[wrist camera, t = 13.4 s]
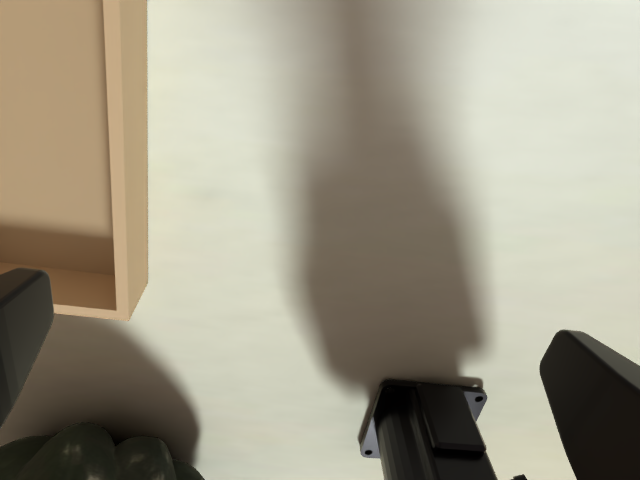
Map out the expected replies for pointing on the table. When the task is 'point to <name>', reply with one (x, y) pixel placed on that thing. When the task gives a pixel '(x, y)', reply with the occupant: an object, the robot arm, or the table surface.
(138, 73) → the cardboard box
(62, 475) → the squash
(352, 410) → the table surface
